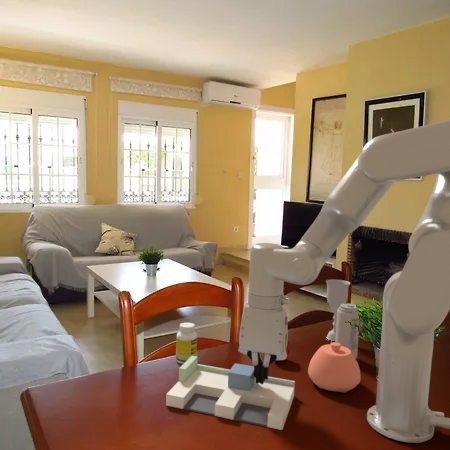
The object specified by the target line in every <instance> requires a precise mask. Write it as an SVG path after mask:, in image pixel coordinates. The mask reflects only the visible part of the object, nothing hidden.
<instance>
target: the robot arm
mask: <svg viewBox="0 0 450 450" xmlns="http://www.w3.org/2000/svg"><path fill="white" fill-rule="evenodd" d="M360 151H361V152H360V153H359V155H358V156H357V158H356V159H355V160H354V162H353V163H352V165H351V166H350V167H349V169H348V170H347V171H346V173H345V174H344V175H343V176H342V178H341V179H340V180H339V182H338V183H337V185H336V186H334V188H333V189H332V190H331V192H330V194H328V196H327V198H326V199H325V201H324V203H323V204H322V208H321V210H320V212H319V214H318V215H317V217H315V220H314V221H312V222H313V223H312V224H311V225H310V226H309V228H308V229H307V230H306V232H305V233H304V235H303V236H302V237H301V239H300V240H299V241H298V243H296V244H295V246H294V247H292V248H284V246H282V245H280V244H277V243H274V242H273V243H272V242H271V243H270V242H260V243H259V242H257V243H255V244H253V245H252V246H251V248H250V251H249V266H248V267H249V268H248V291H247V302H245V304H244V307H243V312H242V316H241V322H240V327H239V328H240V329H239V338H238V343H239V346H238V351H237V352H239V353H241V354H243V355H245V356H247V357H248V358H249V359H250V361H251V363H252V366H254V377H256V383H259V382H260V384H263V383H264V381H265V379H268V376H269V371H270V365H271V364H273V363H274V362H275V361H284V360H286V359H287V357H288V355H287V353H286V347H287V340H289V339H288V332H289V329H288V313H287V312H288V311H287V307H286V306H284V305H289V304H290V297H286V296H285V293H284V284H285V283H284V282H286V283H290V284H294V285H296V286H297V285H298V286H305V285H306V286H307V285H309V284H311V283H313V282H315V281H316V279H317V278H318V276H319V274H320V273H321V270H322V268H323V267H324V265H325V264H326V262H327V261H328V260H329V259H330V258H331V256H332V255H334V254H333V253H334V252H335V251H336V250H337V249H338V247H339V246H340V245H341V244H342V242H344V240H345V239H346V238H347V237H348V236H349V235H350V234H352V233H353V232H354V231H355V230H356V229H357V228H359V227H360V226H361V225H362V224H363V223H364V221H365V220H366V219H367V218H368V216H369V215H370V214H371V212H372V211H373V210H374V209H375V207H376V206H377V205H378V204H379V202H380V201H381V200H382V198H383V197H384V196H385V195H386V194H387V192H388V191H389V190H390V188H392V186H393V184H394V183H395V182H397V181H406V180H411V179H415V178H420V177H426V176H430V175H434V177H435V178H434V186H433V189H432V192H431V194H430V196H429V199H428V201H427V203H426V207H425V208H424V210H423V212H422V214H421V216H420V219H419V221H418V223H417V225H416V226H415V228H414V231H412V233H411V235H410V237H409V240H408V252H409V255H408V258H407V260H406V262H405V264H404V266H403V268H402V270H400V271H398V272H395V273H394V274H393V275H391V277H390V278H389V279H388V280H387V281H386V283H385V285H384V290H383V294H382V319H381V321H382V323H381V336H380V338H381V339H380V349H379V361H378V371H377V372H378V373H377V374H378V376H377V387H376V398H375V399H376V400H375V405H372V406H371V407H369V408H368V410H367V413H366V420H367V422H368V424H369V426H371V428H372V429H374V430H375V431H376V432H378V434H380V435H382V436H384V437H387V438H389V439H392V440H395V441H398V442H404V443H413V444H414V443H415V444H417V443H424V442H427V441H430V440H431V439H432V438H433V436H434V435H435V428H436V427H439V428H442V429H447V430H450V418H449V417H445V413H444V412H441V411H434V410H431V408H429V405H428V403H429V393H430V382H431V373H432V372H431V371H432V360H433V353H434V352H433V351H434V350H433V349H434V339H435V330H436V329H438V328H439V327H440V325H441V324H442V323H443V321H444V320H445V318H446V317H447V315H448V313H449V312H450V119H446V120H442V121H441V120H440V121H438V122H434V123H430V124H426V125H425V124H424V125H422V126H417V127H413V128H409V129H403V130H400V131H395V132H391V133H390V132H389V133H385V134H381V135H378V136H375V137H373V138H371V139H370V140H369V141H368V142H366V143H365V145H364V146H363V147H362V150H360ZM261 354H264V359H263V360H262V358H261Z"/></svg>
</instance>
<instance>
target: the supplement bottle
mask: <svg viewBox="0 0 450 450" xmlns="http://www.w3.org/2000/svg"><path fill="white" fill-rule="evenodd" d="M195 327H196V324H195V323H192V322H181V323H180V324H179V331H178V332H177V333H176V341H175V343H176V344H175V345H176V346H175V361H176V362H177V363H178V364H181V365H183V364H184V363H185V362H186V361H187V360H188V359H189V358H190V357H191V356H197V348H198V347H197V346H198V334H197V333H196V332H195V331H196V328H195Z"/></svg>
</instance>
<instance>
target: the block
mask: <svg viewBox="0 0 450 450" xmlns="http://www.w3.org/2000/svg"><path fill="white" fill-rule="evenodd" d="M229 370H230V371H229V372H228V387H229V388H234V389H239V390H244V391H250V390H251V388H252V387H253V385H254V383H255V378H256V377H254V365H248V364H241V363H236V362H235V363H234V364H233V365H232V367H231V368H230V369H229Z"/></svg>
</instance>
